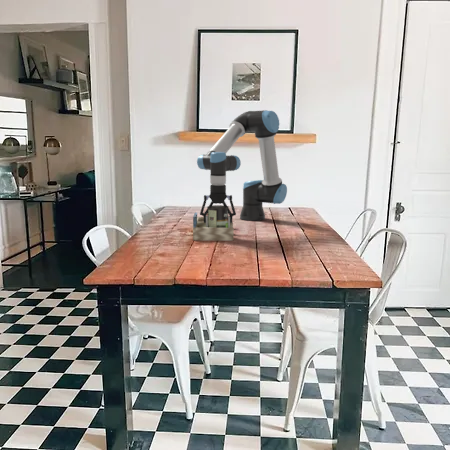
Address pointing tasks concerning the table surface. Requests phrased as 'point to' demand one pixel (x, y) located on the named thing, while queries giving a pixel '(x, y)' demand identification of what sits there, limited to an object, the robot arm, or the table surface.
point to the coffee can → (217, 216)
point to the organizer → (210, 231)
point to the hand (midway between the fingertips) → (217, 229)
